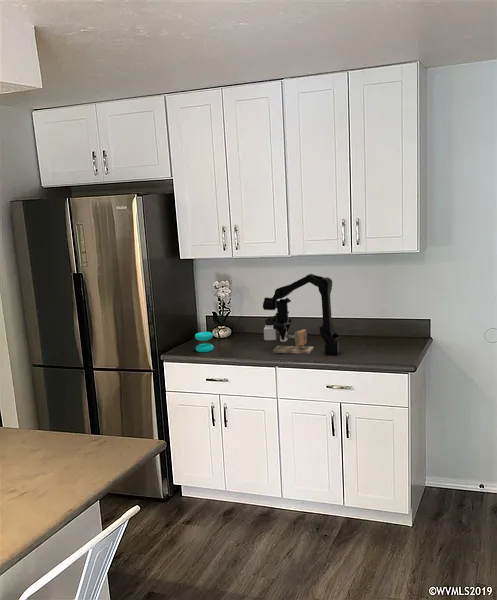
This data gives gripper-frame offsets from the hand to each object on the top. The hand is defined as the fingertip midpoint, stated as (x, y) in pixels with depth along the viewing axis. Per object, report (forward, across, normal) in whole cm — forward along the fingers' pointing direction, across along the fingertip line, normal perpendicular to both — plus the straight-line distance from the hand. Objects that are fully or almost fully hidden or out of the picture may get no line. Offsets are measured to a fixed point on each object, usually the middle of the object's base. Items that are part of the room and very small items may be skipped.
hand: (283, 338), depth 327 cm
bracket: (+6, 0, +5) cm, 8 cm away
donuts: (+7, +4, -45) cm, 46 cm away
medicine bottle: (+7, -26, -15) cm, 31 cm away
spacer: (+2, 0, +10) cm, 11 cm away
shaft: (+1, 0, +5) cm, 6 cm away
